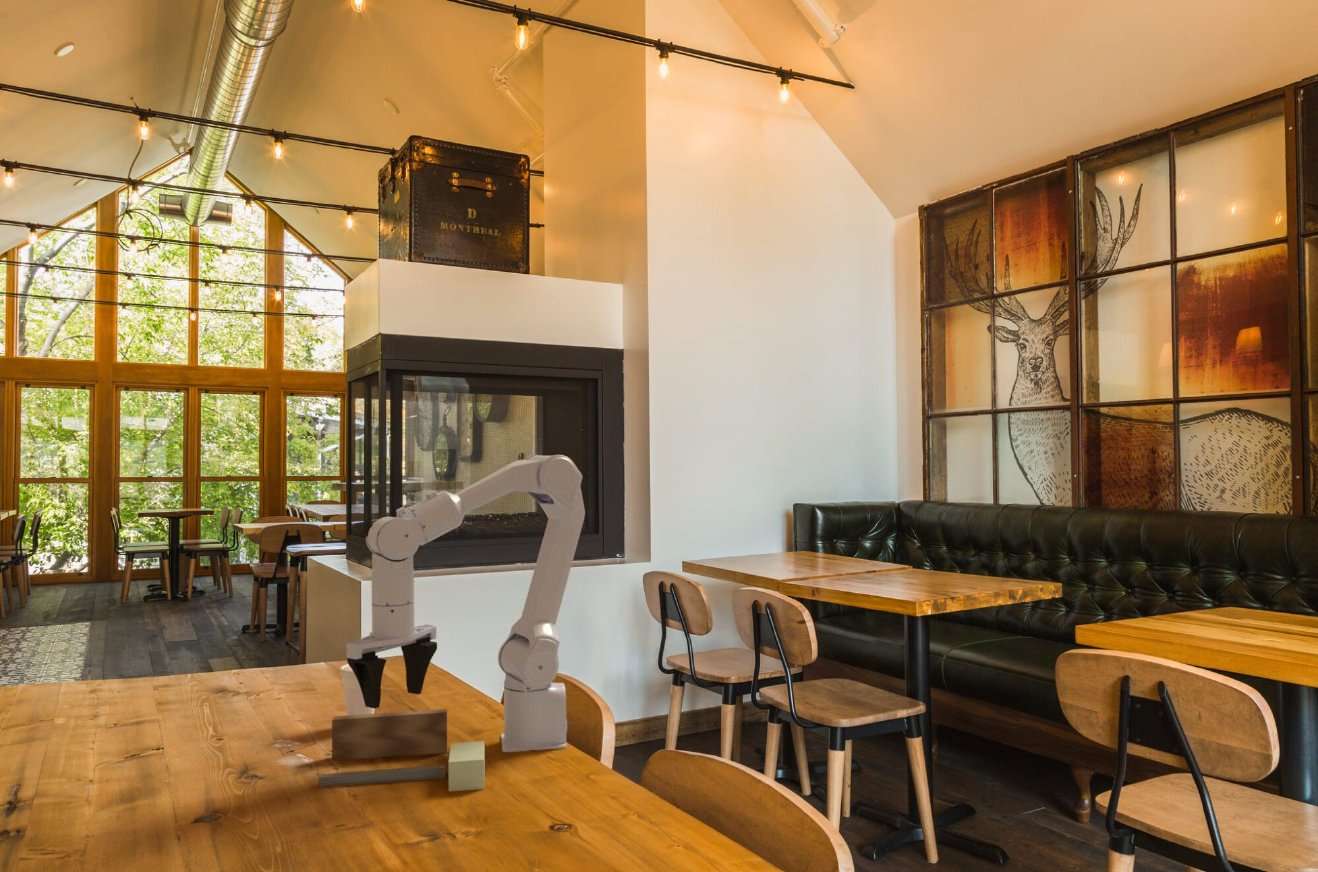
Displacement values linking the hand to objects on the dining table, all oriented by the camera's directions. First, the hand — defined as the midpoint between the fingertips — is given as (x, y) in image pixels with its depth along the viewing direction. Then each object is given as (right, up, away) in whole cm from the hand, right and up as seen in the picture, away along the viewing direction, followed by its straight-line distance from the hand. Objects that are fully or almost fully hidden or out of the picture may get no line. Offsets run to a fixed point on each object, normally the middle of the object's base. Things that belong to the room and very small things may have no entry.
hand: (393, 699), depth 124 cm
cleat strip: (0, -9, -6) cm, 11 cm away
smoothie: (-11, -10, +19) cm, 24 cm away
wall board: (-2, -10, +5) cm, 11 cm away
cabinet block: (+12, -10, -6) cm, 16 cm away
